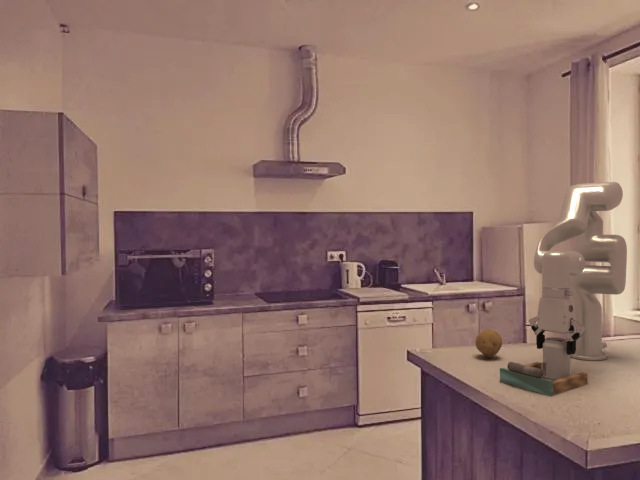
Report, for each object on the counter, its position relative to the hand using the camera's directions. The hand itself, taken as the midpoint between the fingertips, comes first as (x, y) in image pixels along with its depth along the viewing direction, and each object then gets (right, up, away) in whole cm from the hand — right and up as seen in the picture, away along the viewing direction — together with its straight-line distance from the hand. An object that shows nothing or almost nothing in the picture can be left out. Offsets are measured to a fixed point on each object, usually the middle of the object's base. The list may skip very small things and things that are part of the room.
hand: (555, 351), depth 156 cm
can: (+1, -9, +1) cm, 9 cm away
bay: (-4, -9, -3) cm, 10 cm away
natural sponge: (-11, -8, +26) cm, 30 cm away
